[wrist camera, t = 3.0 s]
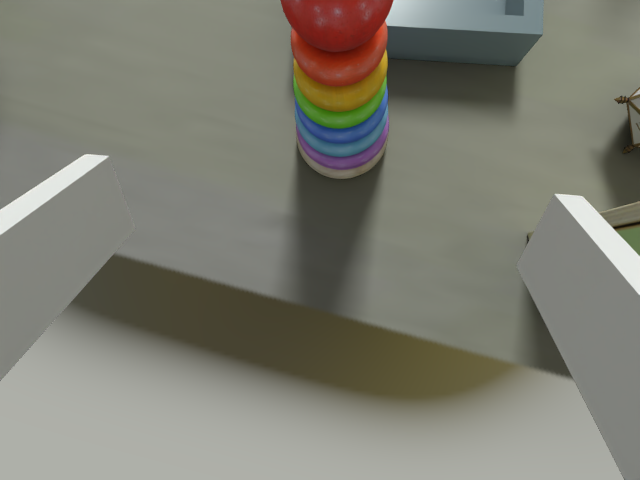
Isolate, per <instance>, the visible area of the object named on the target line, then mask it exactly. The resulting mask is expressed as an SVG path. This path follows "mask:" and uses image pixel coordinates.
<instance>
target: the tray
mask: <svg viewBox="0 0 640 480" xmlns="http://www.w3.org/2000/svg"><path fill="white" fill-rule="evenodd" d="M543 4H544V0H393V4H392V7H391V10H390V12H389V14H388V16H387V18H386V20H385V21H386V24H387V30H388V39H387V46H386V51H387V58H393V59H409V60H426V61H442V62H458V63H474V64H490V65H506V66H517V65H518V63H519V62H520V61H521V60H522V59H523V57H524V56H525V55H526V54H527V53H528V51H529V50H530V49H531V48H532V47H533V45H534V44H535V43H536V42H537V41H538V39H539V38H540V37H541V36H542V35H543ZM291 27H292V26H291Z"/></svg>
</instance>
